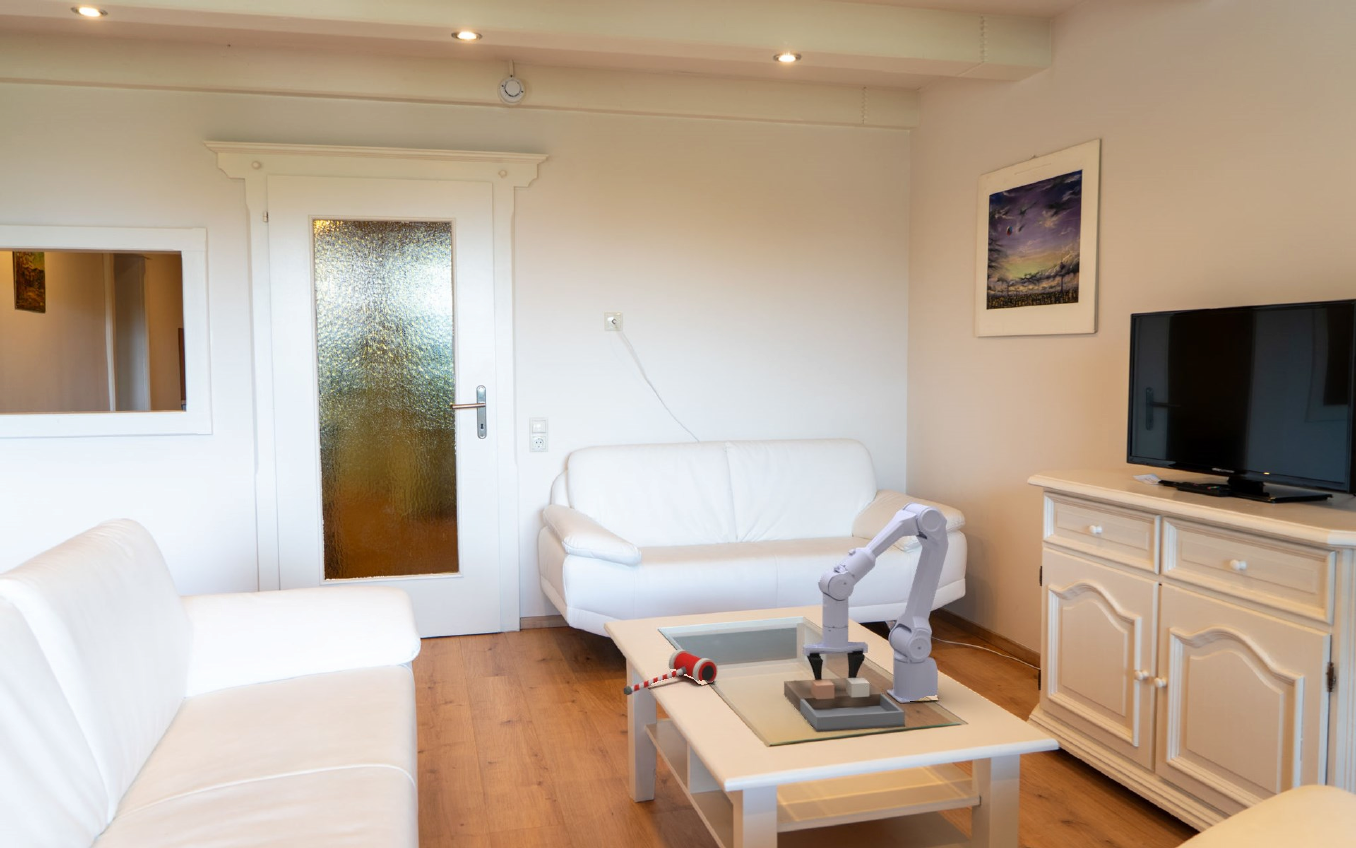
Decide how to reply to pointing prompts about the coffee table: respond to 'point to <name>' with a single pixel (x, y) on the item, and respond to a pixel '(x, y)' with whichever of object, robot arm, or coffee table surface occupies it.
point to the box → (854, 716)
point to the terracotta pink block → (822, 689)
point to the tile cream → (857, 687)
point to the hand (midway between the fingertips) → (835, 685)
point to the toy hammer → (682, 670)
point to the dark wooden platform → (840, 700)
